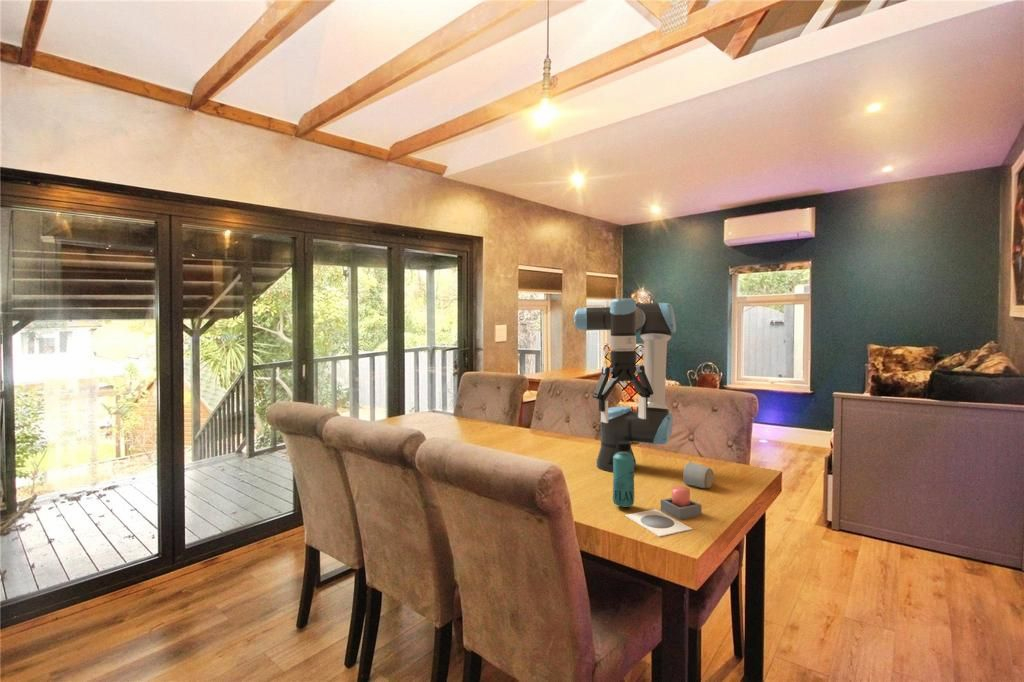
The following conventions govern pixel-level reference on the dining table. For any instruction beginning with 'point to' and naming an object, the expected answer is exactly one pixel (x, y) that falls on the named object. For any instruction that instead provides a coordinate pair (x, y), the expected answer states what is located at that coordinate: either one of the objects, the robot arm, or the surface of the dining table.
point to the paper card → (658, 522)
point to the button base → (681, 509)
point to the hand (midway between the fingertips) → (623, 420)
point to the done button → (680, 496)
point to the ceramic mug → (698, 475)
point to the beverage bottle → (623, 476)
